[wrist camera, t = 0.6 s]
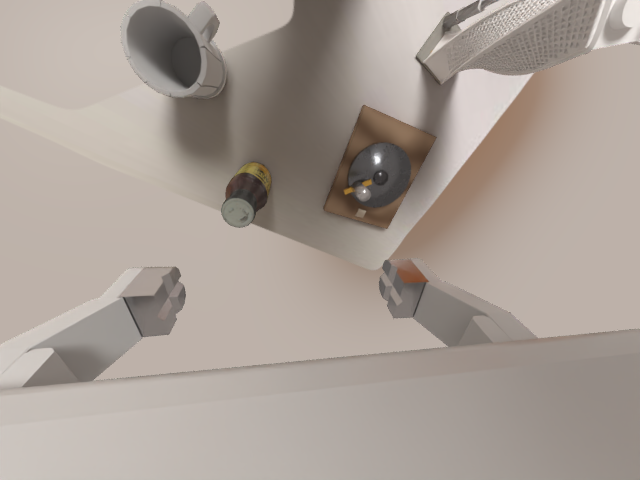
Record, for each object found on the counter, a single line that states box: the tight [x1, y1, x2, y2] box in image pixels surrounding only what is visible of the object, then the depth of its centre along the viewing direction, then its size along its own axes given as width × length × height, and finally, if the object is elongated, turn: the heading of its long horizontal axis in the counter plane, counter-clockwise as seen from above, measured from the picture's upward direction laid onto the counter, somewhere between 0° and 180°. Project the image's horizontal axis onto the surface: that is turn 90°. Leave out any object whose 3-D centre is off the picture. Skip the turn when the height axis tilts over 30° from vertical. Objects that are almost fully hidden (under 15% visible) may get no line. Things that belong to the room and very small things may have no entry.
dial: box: [344, 142, 411, 208], centre depth 45 cm, size 14×13×6 cm
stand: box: [324, 105, 437, 229], centre depth 49 cm, size 21×16×2 cm
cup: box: [121, 0, 227, 99], centre depth 31 cm, size 10×9×12 cm
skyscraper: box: [416, 0, 640, 85], centre depth 29 cm, size 8×8×28 cm
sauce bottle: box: [221, 162, 271, 228], centre depth 38 cm, size 6×6×20 cm
